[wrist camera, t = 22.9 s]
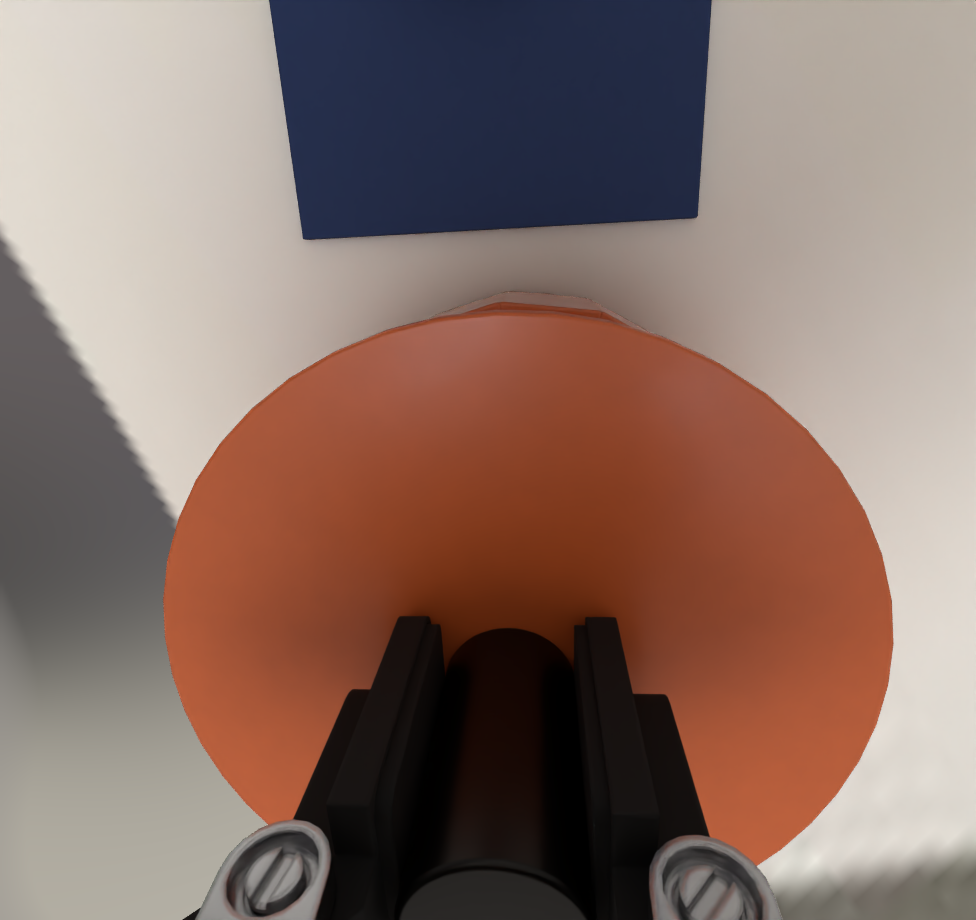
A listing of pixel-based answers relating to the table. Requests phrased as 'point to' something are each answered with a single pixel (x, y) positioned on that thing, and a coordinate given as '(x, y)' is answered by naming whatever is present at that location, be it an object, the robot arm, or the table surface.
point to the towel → (491, 112)
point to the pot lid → (530, 589)
